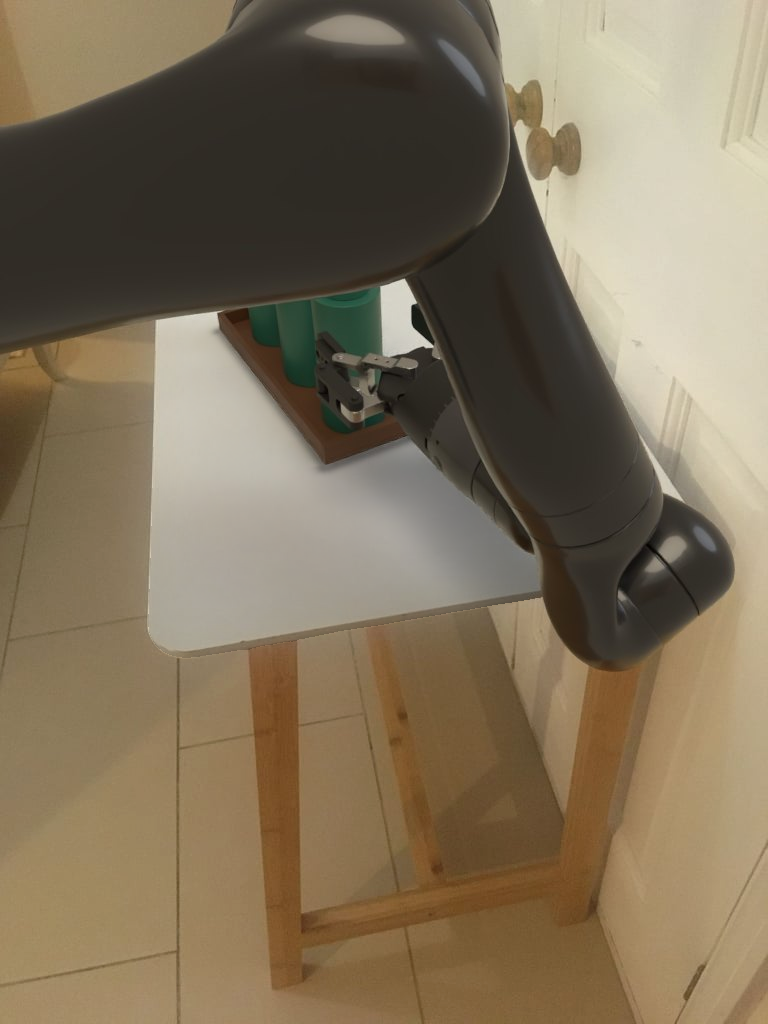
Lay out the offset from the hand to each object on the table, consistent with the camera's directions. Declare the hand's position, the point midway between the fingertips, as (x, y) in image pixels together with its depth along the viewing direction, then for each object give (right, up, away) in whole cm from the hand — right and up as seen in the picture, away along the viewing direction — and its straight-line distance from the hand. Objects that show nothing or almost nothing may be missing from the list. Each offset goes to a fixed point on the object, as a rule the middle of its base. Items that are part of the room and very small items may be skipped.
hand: (368, 327), depth 71 cm
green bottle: (-2, -6, +11) cm, 12 cm away
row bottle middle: (-6, -1, +16) cm, 17 cm away
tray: (-6, -1, +17) cm, 18 cm away
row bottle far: (-10, +4, +22) cm, 24 cm away
